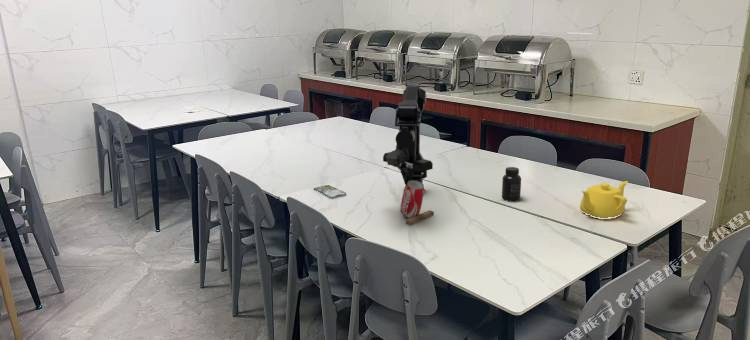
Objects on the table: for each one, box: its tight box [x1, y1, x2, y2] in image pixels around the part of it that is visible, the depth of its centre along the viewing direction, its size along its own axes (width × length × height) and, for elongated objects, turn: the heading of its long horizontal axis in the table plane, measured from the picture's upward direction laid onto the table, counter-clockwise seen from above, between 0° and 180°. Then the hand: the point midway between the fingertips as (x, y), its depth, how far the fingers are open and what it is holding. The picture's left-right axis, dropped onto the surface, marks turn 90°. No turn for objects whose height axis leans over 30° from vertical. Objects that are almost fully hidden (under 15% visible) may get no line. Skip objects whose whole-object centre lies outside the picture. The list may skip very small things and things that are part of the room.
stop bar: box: [405, 209, 435, 226], centre depth 182 cm, size 12×2×2 cm, turn 133°
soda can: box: [399, 180, 425, 219], centre depth 183 cm, size 7×7×12 cm
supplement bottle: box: [501, 166, 522, 202], centre depth 198 cm, size 7×7×12 cm
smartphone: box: [313, 184, 347, 200], centre depth 211 cm, size 7×1×15 cm
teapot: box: [579, 180, 628, 218], centre depth 182 cm, size 22×16×11 cm
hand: (406, 185), depth 183 cm, fingers closed
